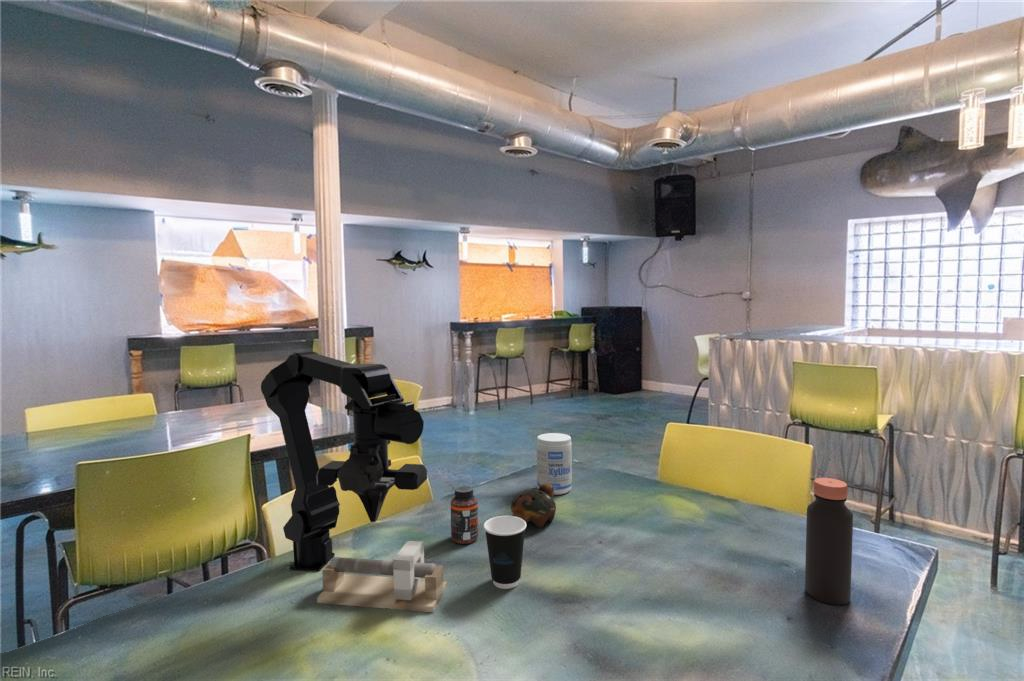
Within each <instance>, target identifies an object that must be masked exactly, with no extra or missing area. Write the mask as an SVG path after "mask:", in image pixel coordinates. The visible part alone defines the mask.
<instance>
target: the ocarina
mask: <svg viewBox="0 0 1024 681" xmlns="http://www.w3.org/2000/svg"><path fill="white" fill-rule="evenodd" d="M510 503H511V504H510V511H511V513H512V514H511V516H515V517H519V518H521V519H523V520H524V521H525V522H526V524H527V523H528V522H532V523H533V524H534V525H535V527H536V528H538V529H542V528H543V526H544V525H546V523H547V522H548V523H551V522H552V521H553V520H554V518H555V515H556V511H557V510H556V509H557V505H556V502H555V500H554V490H553V486H552V485H551V484H549V483H545V484H542V485H541V486H539V488H537V489H536V488H531V489H526V490H525V491H522V492H520V493H519V494H517V495H516V496H515V497H514V499H513V500H512V501H511V502H510Z"/></svg>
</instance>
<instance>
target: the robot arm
mask: <svg viewBox="0 0 1024 681" xmlns="http://www.w3.org/2000/svg"><path fill="white" fill-rule="evenodd" d="M316 379H317V380H319V381H323V382H325V383H329V384H331V385H333V386H337V387H338V388H339V389H340V392H341V393H342V394H343V395H345V396H346V397H348V398H350V400H349V402H347V403H346V404H345V405H344V409H345V410H348V411H352V419H353V420H352V421H353V422H352V423H353V444H351V445H350V449H349V457H348V458H347V459H346V460H345V461H344V460H331V461H330V462H327V463H326V464H325V465H323V466H321V467H320V466H319V463H318V458H317V454H316V450H315V447H314V442H313V438H312V434H311V431H310V430H311V429H310V426H309V422H308V421H309V420H308V417H307V414H306V409H307V406H308V402H309V399H310V388H309V387H310V386H311V385H312V384H313V383H314V382H315V381H316ZM260 391H261V394H262V395H263V398H264V400H265V403H266V406H267V408H269V410H271V411H272V412H273V413H274V415H275V416H277V417H278V419H279V423H280V428H281V430H282V431H281V432H282V434H283V439H284V443H285V444H284V445H285V447H286V453H287V457H288V460H289V464H290V468H291V473H292V478H293V480H294V485H295V490H294V493H293V497H292V499H291V503H290V509H291V517H290V518H289V519H288V520H287V522H286V523H285V524H284V526H283V533H284V536H285V539H288V540H290V541H292V546H293V550H292V551H293V562H292V563H291V564H289V569H290V570H301V571H314V572H318V571H320V570H321V571H322V569H323V568H324V567H325V566H326V565H327V564H328V563H329V562H330V561H331V559H332V558H333V557H336V556H335V555H336V554H335V552H333V539H332V538H331V537H330V530H331V529H335V528H337V523H338V518H339V515H340V505H341V504H340V502H339V499H338V496H337V491H336V490H337V489H336V488H335V486H334V484H336V482H337V481H338V482H339V486H340V489H341V491H344V492H348V491H349V492H353V493H354V494H356V495H357V496H358V497H359V500H360V501H361V503H362V505H363V507H364V510H365V513H366V514H367V516H368V519H369V521H370V522H371V523H375V522H377V521H378V519H379V516H380V513H381V510H382V507H383V505H384V502H385V500H386V497H387V494H388V492H389V490H390V489H392V487H393V486H395V487H396V488H397V489H398V490H406V491H414V490H418V489H419V488H420V487H421V486H422V485H423V484H424V482H426V481H427V480H428V470H427V467H426V466H425V465H424V464H423V463H422V464H421V463H417V464H416V463H404V464H403V465H402V466H401V467H400V468H398V469H394V468H393V469H391V468H390V467H391V466H392V459H389V451H388V450H389V449H388V448H389V447H388V445H389V444H391V441H392V442H396V443H401V444H407V445H412V444H414V443H416V442H417V441H419V439H420V438H421V436H422V434H423V431H424V424H425V423H424V419H423V418H422V417H423V416H422V415H421V413H420V412H419V411H418V410H416V409H415V403H414V402H413V401H407V402H404V401H405V399H404V397H403V395H402V394H401V393H402V391H401V390H400V389H399V388H398V386H397V384H396V382H395V380H394V378H393V377H392V375H391V373H390V371H389V368H388V366H386V365H384V364H382V363H351V362H350V363H349V362H346V361H343V360H341V359H338V358H337V359H336V358H333V357H329V356H327V355H326V356H325V355H323V354H319V353H318V352H316V351H313V350H310V351H300V352H299V351H298V352H293V353H292V354H290V355H289V356H288V357H287V358H286V360H285V361H283V362H282V363H280V364H278V365H277V366H275V367H274V368H272V369H270V371H269V372H268V373H267V374H266V375H265V377H264V378H263V380H261V384H260Z"/></svg>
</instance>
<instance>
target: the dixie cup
mask: <svg viewBox="0 0 1024 681" xmlns="http://www.w3.org/2000/svg"><path fill="white" fill-rule="evenodd" d="M482 527H483V530H484V531H485V539H486V546H487V552H488V560H489V561H488V562H489V568H490V569H489V570H490V576H491V579H492V580H493V581H492V583H493V585H494V586H495V587H496V588H499V589H501V590H502V589H503V590H507V589H514V588H515V587H517V586H518V585H519V584H520V579H521V575H522V565H523V564H522V563H523V553H524V544H525V533H526V532H525V530H526V528H527V523H526V522H525V521H524V520H523V519H521V518H519V517H515V516H512V515H499V516H493V517H491V518H489V519H487V520H486V521H485V522H484V524H483V526H482ZM518 583H519V584H518Z"/></svg>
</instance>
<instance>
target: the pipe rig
mask: <svg viewBox="0 0 1024 681" xmlns="http://www.w3.org/2000/svg"><path fill="white" fill-rule="evenodd" d="M348 573H349V574H348ZM351 573H352V574H351ZM363 574H364V575H363ZM321 575H322V592H320V594H319V595H318V596H317V597H316V598H317V599H316V600H317V602H316V603H317V604H326V605H338V606H352V607H363V608H374V609H385V608H388V610H390V609H391V610H399V611H401V610H402V611H412V612H423V613H424V612H425V613H434V612H435V610H436V608H437V606H438V604H439V602H440V600H441V599H442V597H443V595H444V593H445V591H446V589H447V587H448V585H447V584H448V583H447V582H448V581H446V580H444V566H443V565H441V564H440V565H437V564H436V563H432V562H431V563H430V562H429V563H428V562H424V563H418V562H416V563H415V565H414V577H418V578H425V579H424V581H423V582H422V584H421V585H420V587H419V589H418V590H417V592H416V594H415V595H414V597H413V598H412V600H400V599H394V573H393V560H386V559H385V560H384V559H369V558H356V557H355V558H354V557H341V556H340V557H339V556H334V557H333V558H332V559H331V560H330V561H329V562H328V563H327V564H326V565H325V566H324V567H323V568H322V569H321ZM377 575H378V576H377ZM391 576H392V577H391ZM389 608H390V609H389Z"/></svg>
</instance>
